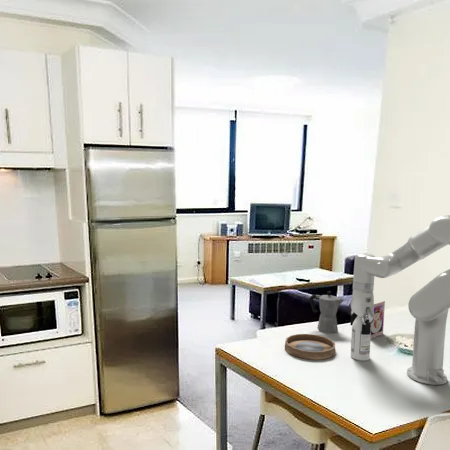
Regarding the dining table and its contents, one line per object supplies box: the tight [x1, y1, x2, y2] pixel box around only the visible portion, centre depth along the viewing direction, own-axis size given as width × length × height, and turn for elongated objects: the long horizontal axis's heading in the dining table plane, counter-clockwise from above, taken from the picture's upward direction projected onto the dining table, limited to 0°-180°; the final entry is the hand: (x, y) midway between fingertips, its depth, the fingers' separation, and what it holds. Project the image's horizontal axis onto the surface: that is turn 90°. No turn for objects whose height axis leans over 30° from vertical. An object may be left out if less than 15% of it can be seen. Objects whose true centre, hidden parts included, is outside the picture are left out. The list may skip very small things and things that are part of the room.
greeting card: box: [371, 300, 386, 339], centre depth 187 cm, size 11×7×15 cm, turn 129°
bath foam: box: [350, 315, 372, 362], centre depth 161 cm, size 7×7×20 cm
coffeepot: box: [308, 290, 345, 334], centre depth 192 cm, size 15×9×18 cm, turn 67°
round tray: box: [284, 333, 337, 361], centre depth 169 cm, size 20×20×3 cm
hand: (359, 329), depth 161 cm, fingers open, 9 cm apart
